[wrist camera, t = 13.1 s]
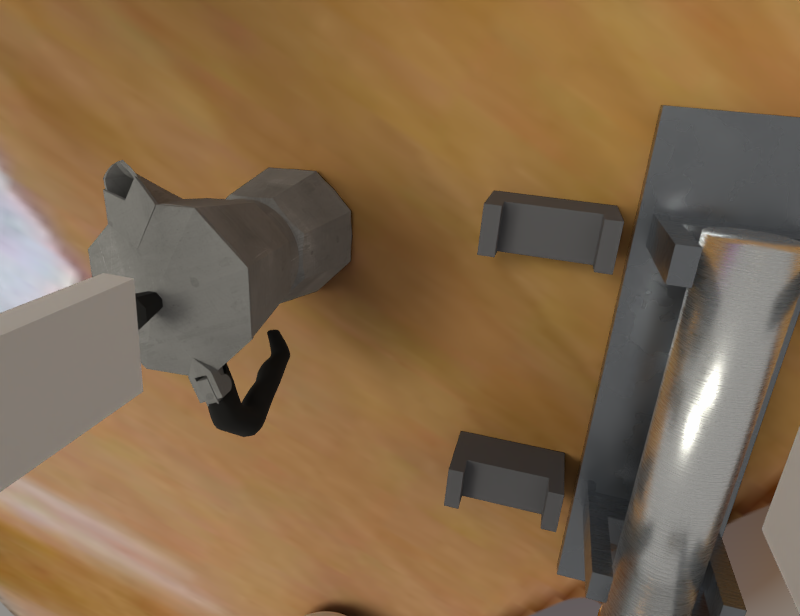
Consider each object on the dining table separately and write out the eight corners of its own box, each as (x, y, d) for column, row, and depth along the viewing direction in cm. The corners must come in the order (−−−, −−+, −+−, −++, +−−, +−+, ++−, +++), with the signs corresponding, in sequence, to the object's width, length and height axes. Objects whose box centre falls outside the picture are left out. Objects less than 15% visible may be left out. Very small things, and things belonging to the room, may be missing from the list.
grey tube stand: (660, 105, 34) (722, 113, 21) (864, 123, 32) (1083, 146, 19) (555, 570, 47) (550, 769, 33) (698, 606, 45) (755, 835, 31)
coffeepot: (205, 162, 43) (-18, 205, 27) (318, 115, 40) (143, 131, 23) (286, 354, 47) (134, 495, 30) (396, 325, 43) (292, 466, 27)
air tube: (691, 222, 33) (710, 243, 28) (796, 235, 32) (834, 260, 27) (592, 605, 43) (594, 668, 38) (669, 626, 42) (681, 694, 37)
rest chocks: (494, 190, 38) (484, 203, 34) (617, 205, 37) (624, 221, 32) (456, 464, 46) (444, 505, 41) (557, 487, 44) (556, 532, 40)
